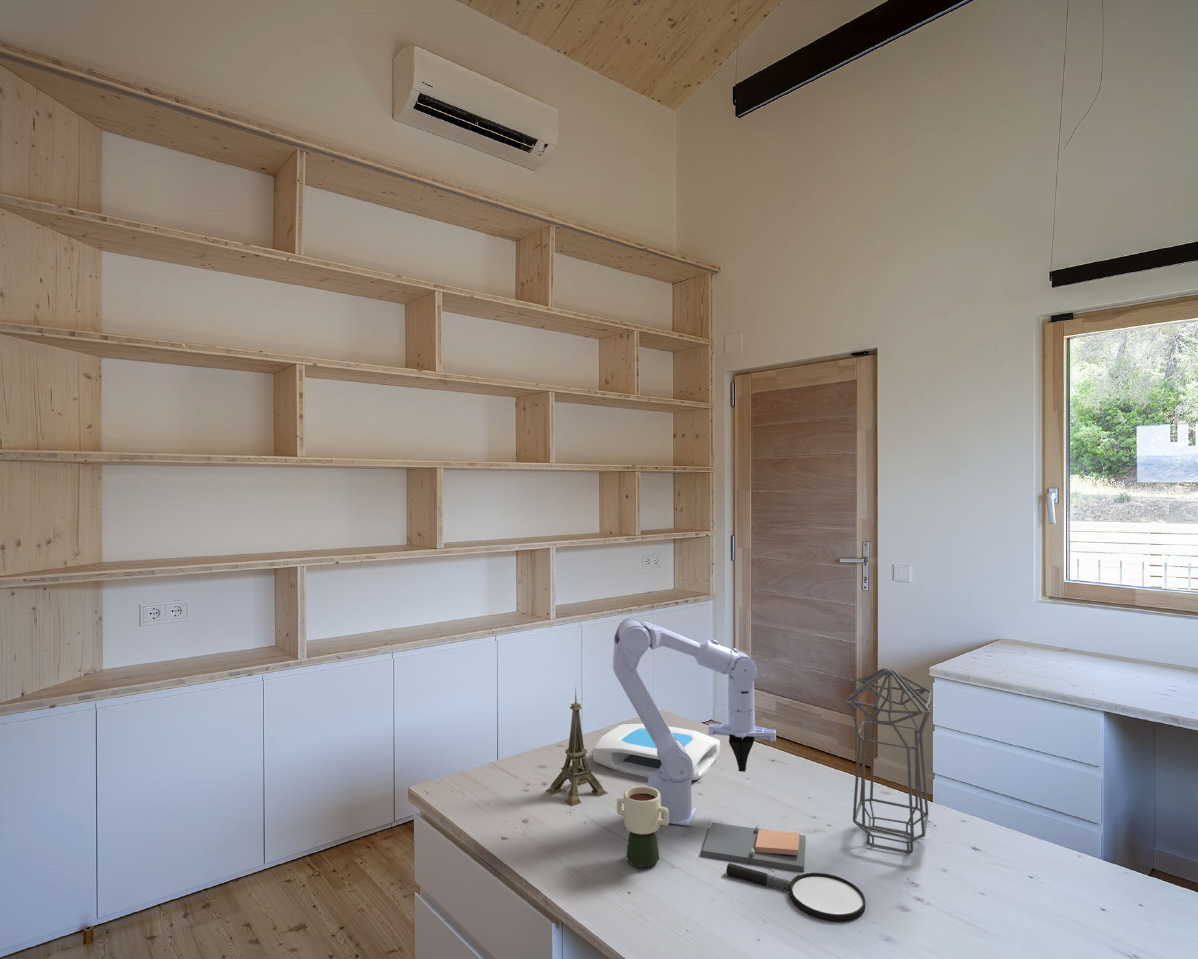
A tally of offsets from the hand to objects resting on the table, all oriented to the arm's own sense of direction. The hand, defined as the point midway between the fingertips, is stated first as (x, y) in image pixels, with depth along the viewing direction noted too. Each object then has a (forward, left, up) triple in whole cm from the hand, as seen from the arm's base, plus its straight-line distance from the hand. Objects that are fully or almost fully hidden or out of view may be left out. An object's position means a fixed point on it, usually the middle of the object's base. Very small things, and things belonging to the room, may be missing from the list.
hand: (742, 769), depth 150 cm
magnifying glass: (+12, -27, -10) cm, 31 cm away
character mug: (-16, -26, -10) cm, 32 cm away
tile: (+8, -15, -7) cm, 18 cm away
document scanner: (-25, +23, -10) cm, 35 cm away
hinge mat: (+4, -15, -9) cm, 18 cm away
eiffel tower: (-39, -1, -10) cm, 40 cm away
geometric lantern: (+30, -4, -10) cm, 32 cm away
